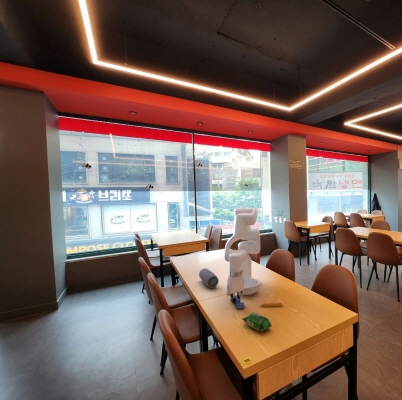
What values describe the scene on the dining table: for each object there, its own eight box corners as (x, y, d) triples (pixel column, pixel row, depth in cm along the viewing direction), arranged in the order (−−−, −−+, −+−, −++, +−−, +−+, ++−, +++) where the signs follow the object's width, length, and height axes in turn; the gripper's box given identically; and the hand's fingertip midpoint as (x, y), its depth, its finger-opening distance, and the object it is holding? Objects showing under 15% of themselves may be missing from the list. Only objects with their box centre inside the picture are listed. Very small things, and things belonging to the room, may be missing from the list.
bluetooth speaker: (219, 287, 166) (219, 274, 166) (206, 290, 161) (206, 276, 161) (209, 278, 185) (209, 266, 185) (198, 281, 180) (198, 268, 180)
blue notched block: (228, 300, 144) (228, 295, 143) (234, 298, 146) (234, 293, 146) (239, 309, 132) (239, 304, 132) (245, 307, 135) (245, 301, 135)
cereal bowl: (250, 286, 169) (250, 276, 169) (265, 292, 157) (265, 282, 157) (231, 293, 157) (230, 282, 157) (245, 300, 145) (245, 289, 145)
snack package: (250, 318, 123) (250, 309, 123) (272, 328, 113) (272, 318, 113) (241, 324, 118) (240, 314, 118) (263, 335, 108) (263, 324, 108)
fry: (261, 306, 137) (261, 303, 137) (261, 305, 139) (261, 302, 139) (281, 306, 137) (281, 303, 137) (281, 304, 139) (281, 301, 139)
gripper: (244, 269, 148) (244, 297, 148) (221, 274, 138) (221, 304, 138) (250, 272, 142) (250, 301, 142) (226, 278, 132) (226, 309, 132)
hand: (236, 302), depth 140 cm, fingers closed on blue notched block, 2 cm apart
